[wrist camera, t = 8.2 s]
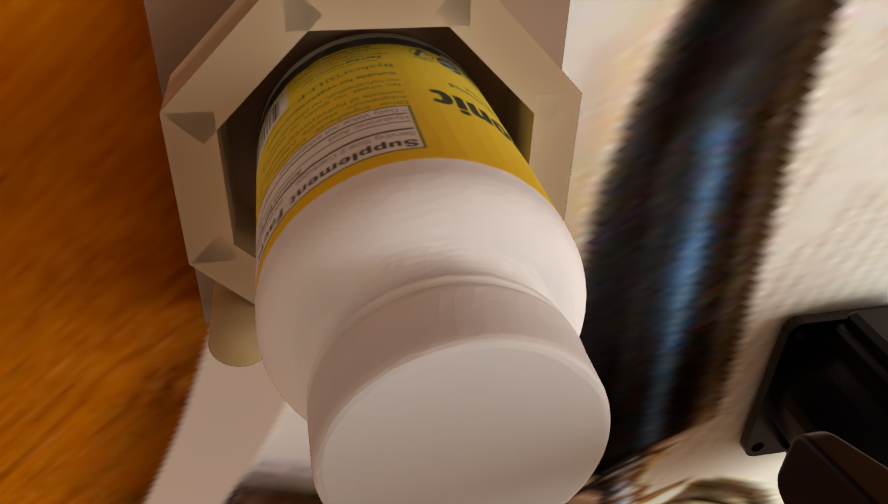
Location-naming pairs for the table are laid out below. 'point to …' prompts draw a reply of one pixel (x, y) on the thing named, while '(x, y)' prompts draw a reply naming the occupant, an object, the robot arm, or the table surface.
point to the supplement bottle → (418, 287)
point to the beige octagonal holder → (270, 57)
